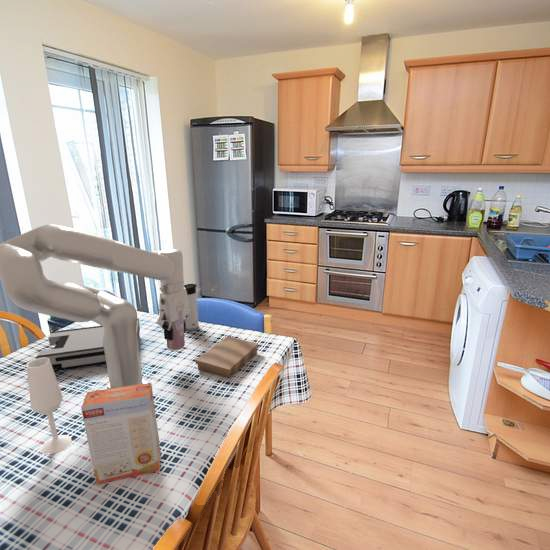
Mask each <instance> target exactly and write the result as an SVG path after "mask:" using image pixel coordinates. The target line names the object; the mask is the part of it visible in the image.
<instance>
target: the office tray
mask: <svg viewBox="0 0 550 550" xmlns="http://www.w3.org/2000/svg"><path fill="white" fill-rule="evenodd" d="M140 326H141V325H140V319H139V318H138V317H137V341H138V348H139V349H140V342H141V341H140V340H141V334H140V332H141V327H140ZM103 338H104V328H103V326H101V325H95V326H88V327H80V328H72V329H71V328H70V329H65V330H56V331H55V330H53V331H51V333H50V334H49V335H48V338H47V339H48V342H49V346H54V347H53V348H50V349H43V350H39V352H38V354H37V355H36V357H35V359H37V358H43V357H46V358H49V359H50V362H51V365H52V368H53V369H55V371H56V372H60V371H59V370H63V371H68V369H70V370H76V368H77V369H82V368H83V369H84V368H90V367H95V366H97V367H98V366H103V365H106V358H105V353H104V347H103Z"/></svg>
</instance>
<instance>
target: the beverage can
mask: <svg viewBox="0 0 550 550" xmlns="http://www.w3.org/2000/svg"><path fill="white" fill-rule="evenodd" d="M178 313H179V319H178V320H177V321H175V322H172V325H171V329H172V335H173V340H171V341H170V340H167V339H166V347H167V349H168V350H169V351H171V352H179V351H181V350H183V349H184V348H185V345H186V341H185V333H184V320H183V314H182V310H180V309H179V312H178ZM166 320H167V319H166ZM166 325H168V322H167V323H166Z"/></svg>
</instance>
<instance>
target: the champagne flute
mask: <svg viewBox="0 0 550 550" xmlns="http://www.w3.org/2000/svg"><path fill="white" fill-rule="evenodd" d="M25 366H26V372H27V381H28V383H27V384H28V392H29V400H30V401H29V402H30V407H31V409H32V410H33V411H34V412H35V413H38V414H40V415H45V416H47V419H48V424H49V427H50V433H51V437H52V438H50V439H48V440H47V441H46V442H45V443H44V444H43V445H42V447H43V448H42V447H41V451H42V450H43V452H44V453H43V452H42V453H43V454H45V453H47V454H46V455H53V454H54V453H55V454H58V453H60V452H62V451H64V450H65V449H68V448H67V447H69V446H70V444H71V443H72V437H71V436H70V435H67V434H61V435H60V434H59V435H58V430H57V426H56V423H55V418H54V412H55V411H56V410H57V409H58V408H59V407H60V406H61V404H62V402H63V398H64V397H63V394H62V391H61V388H60V385H59V382H58V379H57V376H56V373H55V370H54V368H52V365H51V362H50V359H49V358H46V357H43V358H37V359H36V358H35V359H32V360H30V361H29V362H27V363H26V365H25ZM57 452H58V453H57ZM48 453H49V454H48Z"/></svg>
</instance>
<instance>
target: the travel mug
mask: <svg viewBox="0 0 550 550" xmlns="http://www.w3.org/2000/svg"><path fill="white" fill-rule="evenodd" d="M184 287H185V288H186V291H187V296H188V302H189V307H190V311H189V314H188V316H187V318H186V319H187V321H186V332H187V331H188V332H193V331H196V330H198V329H199V327H200V326H199V325H200V324H199V323H200V322H199V311H198V296H197V283H196V284H195V283H187V284H184Z"/></svg>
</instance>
